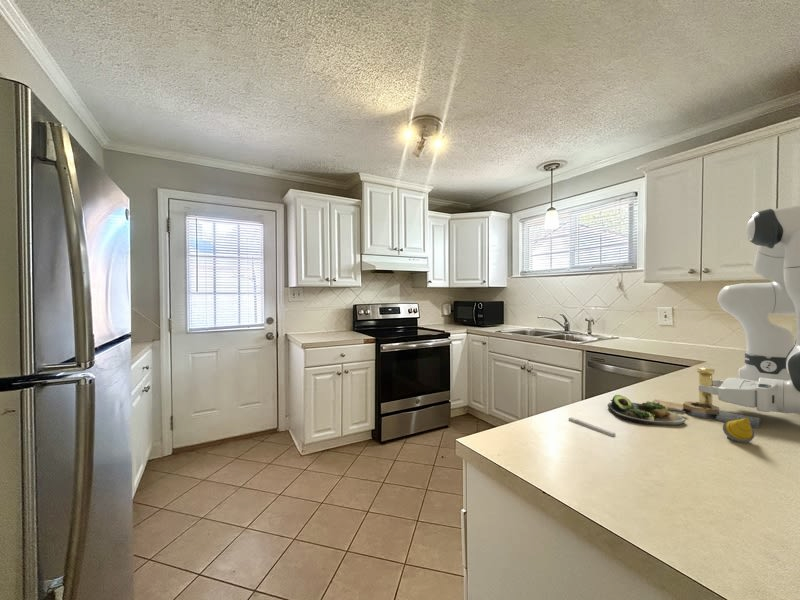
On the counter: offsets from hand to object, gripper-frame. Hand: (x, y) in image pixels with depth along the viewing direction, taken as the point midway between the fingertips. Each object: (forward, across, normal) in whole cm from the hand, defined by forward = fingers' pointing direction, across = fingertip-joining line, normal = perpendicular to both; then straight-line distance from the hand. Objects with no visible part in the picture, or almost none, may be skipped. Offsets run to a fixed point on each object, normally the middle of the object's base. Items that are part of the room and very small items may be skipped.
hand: (702, 384), depth 104 cm
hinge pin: (-1, 0, +7) cm, 7 cm away
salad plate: (+10, +22, +8) cm, 25 cm away
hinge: (-1, +8, +7) cm, 11 cm away
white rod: (+16, +43, +8) cm, 47 cm away
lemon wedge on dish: (-11, +26, +7) cm, 29 cm away
